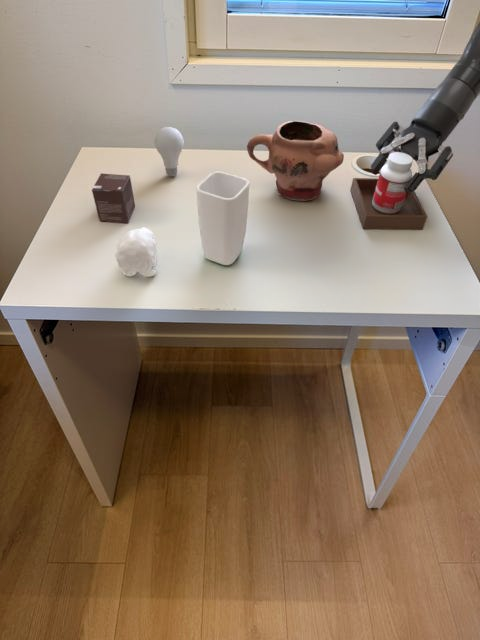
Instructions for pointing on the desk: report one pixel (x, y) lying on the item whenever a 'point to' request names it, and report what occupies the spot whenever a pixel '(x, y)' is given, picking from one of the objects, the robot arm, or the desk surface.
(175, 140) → the lightbulb
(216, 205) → the cup
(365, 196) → the tray
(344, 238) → the desk surface
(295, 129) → the pink face mug
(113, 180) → the box
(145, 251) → the white lumpy curved piece
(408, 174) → the pill bottle
